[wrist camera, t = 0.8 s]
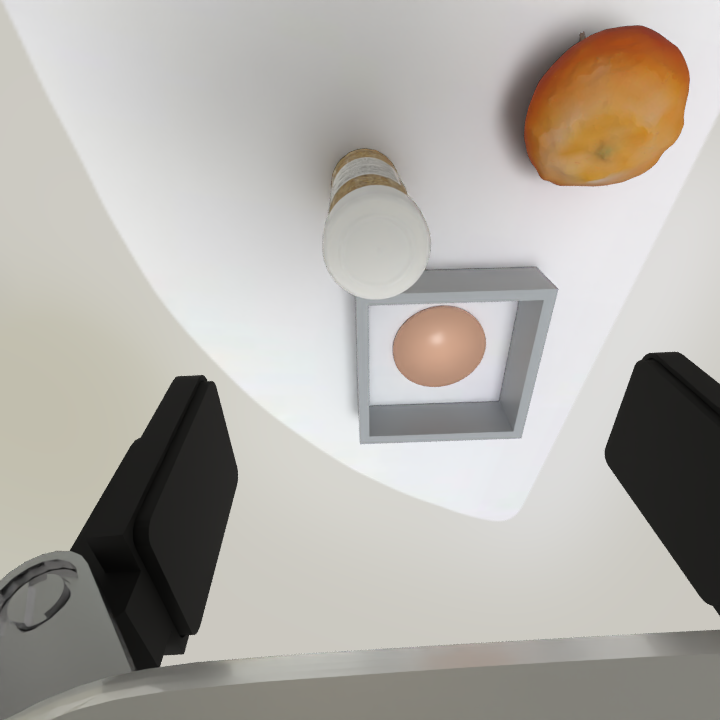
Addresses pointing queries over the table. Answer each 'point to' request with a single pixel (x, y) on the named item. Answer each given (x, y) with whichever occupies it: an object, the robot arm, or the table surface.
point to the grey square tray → (457, 355)
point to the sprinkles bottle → (373, 229)
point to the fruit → (607, 108)
